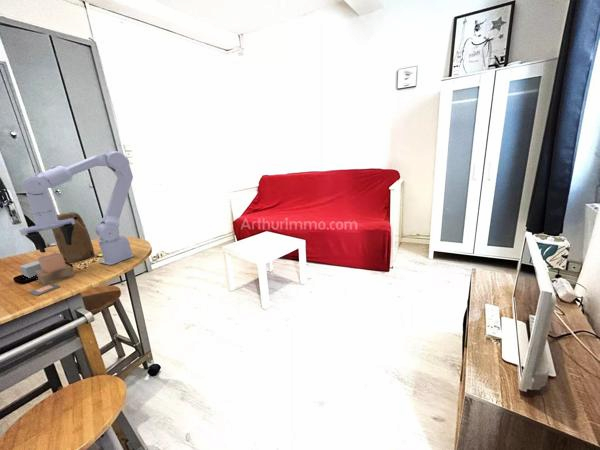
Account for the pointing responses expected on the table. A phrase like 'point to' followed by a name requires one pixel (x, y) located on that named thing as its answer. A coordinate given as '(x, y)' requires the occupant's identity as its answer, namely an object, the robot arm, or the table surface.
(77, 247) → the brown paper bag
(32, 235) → the robot arm
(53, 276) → the walnut base
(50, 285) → the card
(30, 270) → the grey cube
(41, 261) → the terracotta cube
